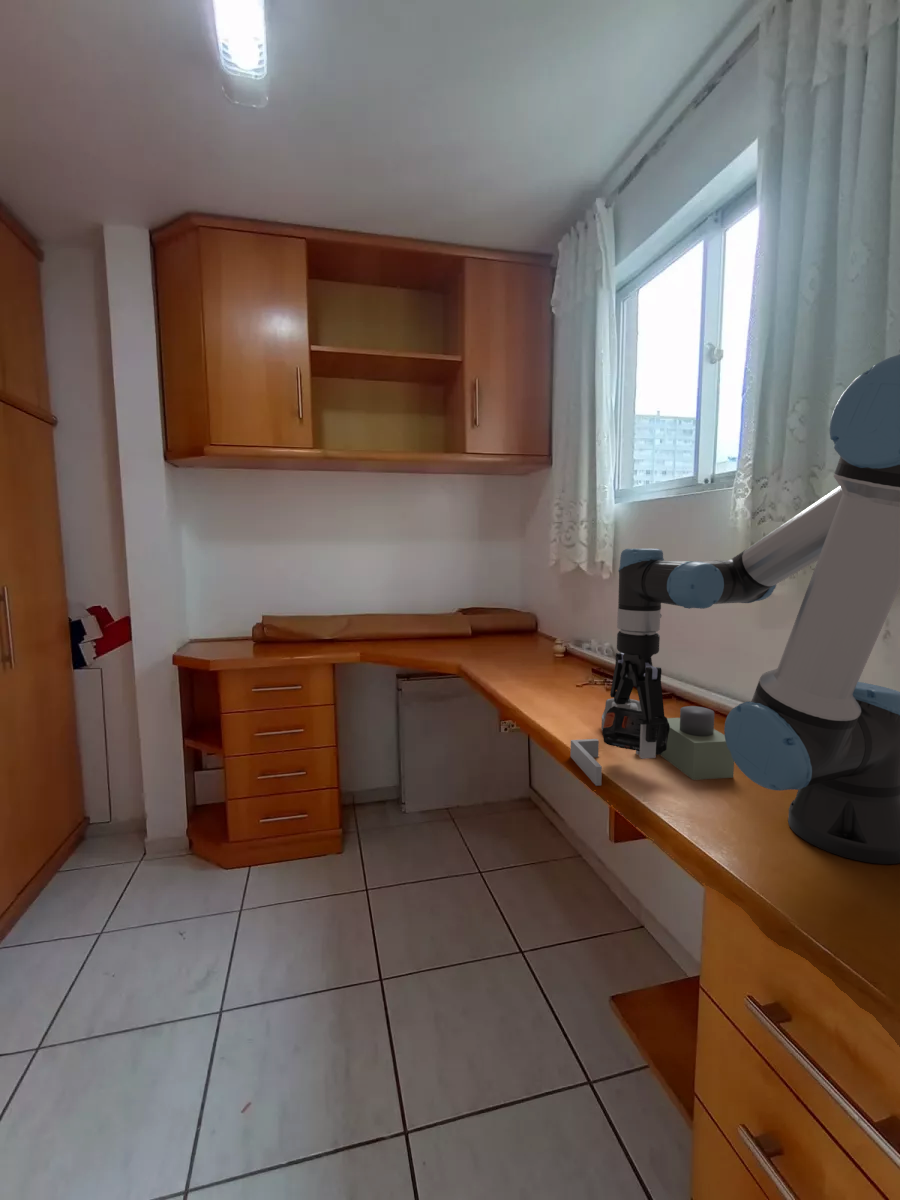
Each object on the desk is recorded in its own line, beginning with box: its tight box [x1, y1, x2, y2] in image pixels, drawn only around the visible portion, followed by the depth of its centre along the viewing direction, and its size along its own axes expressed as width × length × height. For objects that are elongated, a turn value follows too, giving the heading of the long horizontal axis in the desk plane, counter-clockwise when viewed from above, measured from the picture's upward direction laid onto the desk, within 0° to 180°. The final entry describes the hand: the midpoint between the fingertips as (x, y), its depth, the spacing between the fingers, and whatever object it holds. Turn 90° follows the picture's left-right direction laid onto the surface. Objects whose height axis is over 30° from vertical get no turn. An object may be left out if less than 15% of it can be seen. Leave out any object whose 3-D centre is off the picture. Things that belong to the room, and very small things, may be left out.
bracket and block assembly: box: [570, 705, 735, 787], centre depth 106 cm, size 14×26×11 cm, turn 97°
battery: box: [601, 706, 670, 756], centre depth 105 cm, size 12×8×7 cm
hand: (633, 746), depth 105 cm, fingers closed on battery, 10 cm apart
